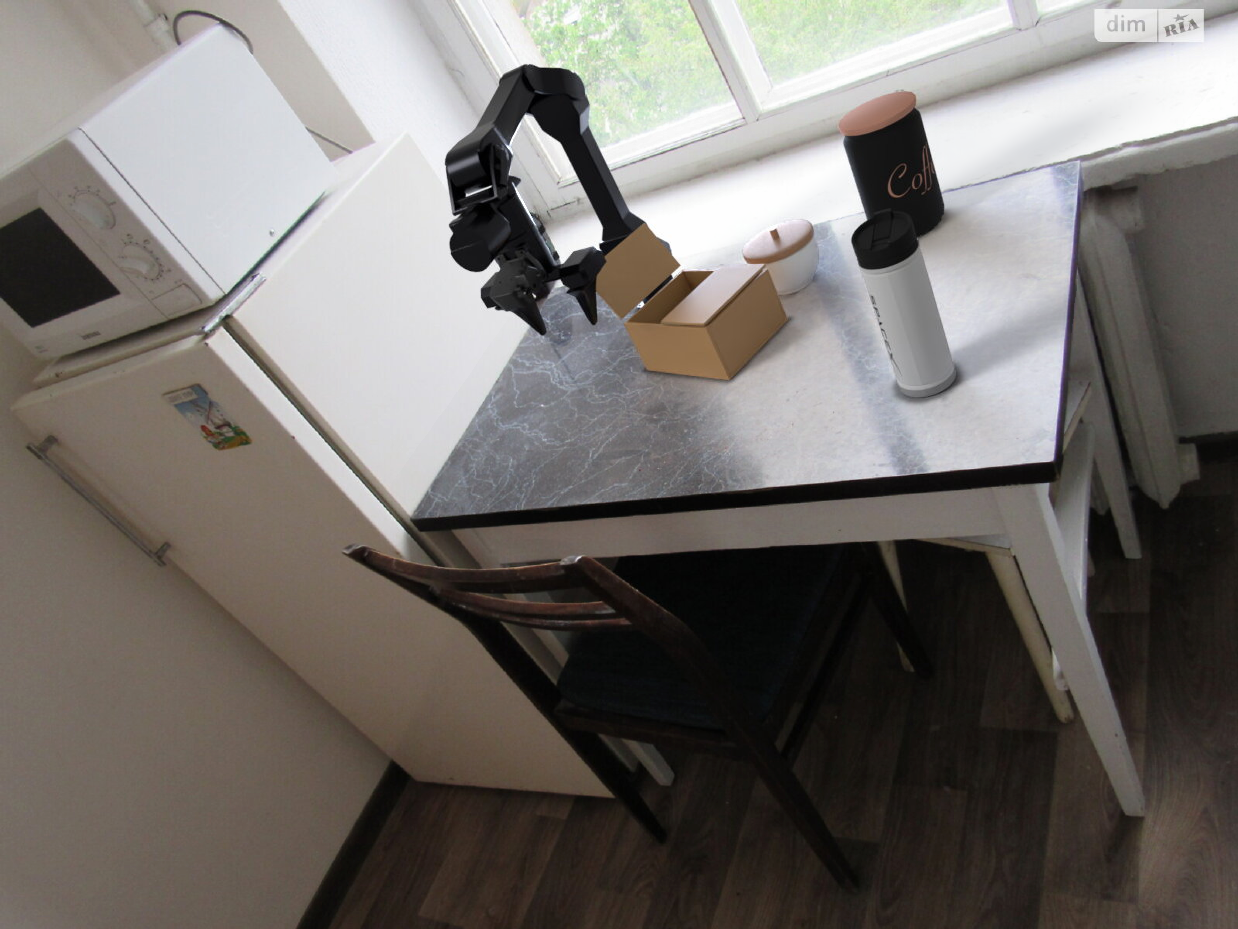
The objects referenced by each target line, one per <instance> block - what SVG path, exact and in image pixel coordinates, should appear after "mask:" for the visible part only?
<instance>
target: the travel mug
mask: <svg viewBox="0 0 1238 929" xmlns="http://www.w3.org/2000/svg"><path fill="white" fill-rule="evenodd" d="M873 216H874V217H872V218H870V219H868V220H867V219H866V220H865V221H864V222H862V223H861V224H859V226H857V228H856V229H854V231H853V233H852V235H851V239H850V242H851V246H852V249H853V252H854V255H855V257H856V261H857V265H858V268H859V270H860V274H861V278H862V280H863V284H864V287H865V290H866V293H867V296H868V298H869V301H870V304H871V308H872V310H873V315H874V316H875V320H876V323H877V326H878V328H879V332H880V334H881V335H880V336H881V337H882V341H883V344H884V347H885V350H886V353H887V355H888V359H889V362H890V364H891V368H892V370H893V373H894V377H895V379H896V383H897V386H898V390H900V392H901V393H902V394H903V395H905V396H907V397H911V398H926V397H931V396H934V395H937V394H939V393H941V392H943V391H944V390H946V389H948V387H950V386H951V385H952V384H953V383H954V381H955V379H956V376H957V370H956V367H955V363H954V360H953V356H952V353H951V349H950V346H949V342H948V338H947V336H946V331H945V328H944V324H943V322H942V318H941V315H940V310H939V307H938V304H937V301H936V297H935V294H934V290H933V287H932V286H933V285H932V283H931V279H930V276H929V272H928V269H927V265H926V262H925V259H924V255H923V252H922V249H921V244H920V242H919V239H918V237H916V232H915V229H914V225H913V222H912V219H911V217H910V216H909V215H908V214H907V213H904V212H900V211H893V212H892V211H891V208H889V209H886V210H882V211H879V212H875V213H874V215H873Z"/></svg>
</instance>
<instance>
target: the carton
mask: <svg viewBox="0 0 1238 929" xmlns="http://www.w3.org/2000/svg"><path fill="white" fill-rule="evenodd" d="M765 267H766V265H765V264H747V263H736V264H734V263H733V264H732V263H730V264H729V263H727V264H720V265H719V266H717V268H713V269H711V268H709V269H708V268H704V269H700V268H699V269H682V270H681V271H679V272H678V273H677V274H676V275H675V276H673V279H672V280H671V281H670V282H668V283H667V284H666V285H665V286H664V287H663V288H662V289H661V290H660V291H659V292H658V293H656V294H655V295H654V296H653V297H652V298H651V299H650V300H649V301H648V302H647V303H645V304H644V305H643V306H642V307H641V308H640V309H638V310H637V311H635V312H634V313H633V314H632V315H631V316H630V317H629V318H628V319H627V320H626V321H625V322H623V326H624V328H625V330H626V333H627V334H628V335H629V337H630V340H631V341H632V343H633V345H634V347H635V349H636V351H637V353H638V355H639V357H640V359H641V361H642V363H643V365H644V367H645V369H646V370H647V371H651V372H658V373H667V374H676V375H682V376H690V377H691V376H693V377H698V378H708V379H716V380H724V381H731V380H732V379H733V377H735V376H736V374H737V373H738V372H740V370H741V369H742V368H743V367H744V366H745V365H746V364H747V363H748V362H749V361H750V360H751V359H752V358H753V357H754V356H755V355H756V354H757V353H758V352H759V351H760V350H761V349H762V348H763V346H765V344H766V343H768V342H769V340H770V339H771V338H772V337H773V336H774V335H775V334H776V333H777V332H778V331H779V330H781V328H782V327H783V326H784V325H785V324H786V323H787V322H788V321H789V319H788V315H787V313H786V310H785V308H784V305H783V304H782V303H783V302H782V301H781V298H780V295H779V294H778V293H777V291H776V288H775V285H774V283H773V280H772V278H771V275H770V273H769V270H768V269H764V268H765ZM710 320H712V321H711V322H710V323H709V324H708V325H707V326H706V327H702V326H705V325H706V324H707V323H708V322H709V321H710ZM660 323H662V324H660ZM668 324H679V325H668ZM685 325H696V326H685Z"/></svg>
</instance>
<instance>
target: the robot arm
mask: <svg viewBox="0 0 1238 929" xmlns="http://www.w3.org/2000/svg"><path fill="white" fill-rule="evenodd" d="M586 91H587V90H586V87H585V83H584V81H583V79H582V78H581V76H580V75H579V74H578V73H577V72H575V71H574V72H573V71H572V70H570V69H568V68H563V67H547V66H546V67H545V66H544V67H543V66H542V67H541V66H537V65H536V64H535V65H534V64H532V63H528V64H527V63H524V64H522V65H519V66H517V67H515V68H513V69H511V70H509V71H506V72H505V73H503V74H502V76H501V77H500V78H499V80H498V86H497V88H496V90H495V91H494V94H493V96H492V97H491V99H490V101H489V103H488V104H487V106H486V108H485V110H484V112H483V114H482V115H481V117H480V119H479V121H478V122H477V124H476V126H475V128H474V129H473V130H472V131H471V132H469V134H466V135H465V136H464V137H462V138H461V139H460V140H459V141H457V142H456V143H455V145H453V146H452V147H451V148H450V150H448V152H446V155H445V158H444V166H445V174H446V181H447V189H448V194H449V202H450V208H451V214H452V216H454V217H456V218H454V219H452V220H451V221H450V222H449V223H448V227H449V229H450V231H451V233H452V234H451V236H450V238H449V242H448V245H449V250H450V255H451V258H452V260H454V261H455V263H456V264H457V265H458V266H459V267H461V268H462V269H463V270H466V271H469V272H470V273H471V272H472V273H481V272H485V270H487V269H488V268H489V267H490V266H491V264H492V263H494V261H495V259H496V260H497V262H498V265H499V267H500V268H499V271H495V272H494V273H493V274H492V276H491V277H490V278H489V279H487V281H486V282H485V283H484V284H483V285H482V286H481V288H480V300H481V301H482V303H483V304H484V306H485V307H486V309H492V308H494V310H495V311H497V312H499V311H504V312H506V313H507V312H511V313H512V314H513V315H515V316H517V317H518V318H520V319H521V320H522V321H524V322H525V323H526V324H527V325H528V326H529V327H530V328H532V329H533V330H534V331H535V332H536V333H537V334H539V335H540V336H542V337H543V336H545V335H546V334H547V332H548V331H547V327H546V324H545V320H544V319H543V316H542V313H541V311H540V308H539V307H538V304H537V302H536V299H535V296H534V293H538V292H540V288H541V285H544V284H548V283H551V282H552V283H553V282H556V281H560V283H561V284H562V285H563V286H564V287H566V288H568V289H567V291H566V292H565V293H566V294H567V295H569V296H572V297H573V298H575V299H576V301H577V303H578V305H579V306H580V308H581V310H582V312H583V313H584V314H583V315H584V316H585V317H586V319H587V320H588V322H589V323H590V324H591V326H596V325H597V323H598V322H599V320H598V319H599V318H598V304H597V302H598V301H597V300H598V299H597V292H596V282H597V275H598V274H599V272H600V271H601V269H602V267H603V266H604V265H605V263H606V262H607V261H606V259H605V256H606V255H607V254H608V253H610V252H611V251H612V250H613V249H614V248H615V247H617V246H618V245H619V244H620V243H621V242H622V241H624V240H625V239H626V238H627V237H628V236H629V235H631V234H632V233H633V232H634V231H635V230H636V229H638V228H639V227H640V226H641V225H642V224H643V223H645V224H646V225H647V226H648V227H649V225H648V223H647V222H646V220H644V219H642V218H640V216H638V215H636V214H635V213H634V212H632V211H631V210H630V209H629V207H628V205H627V203H626V201H625V198H624V197H623V194H622V192H621V191H620V188H619V186H618V184H617V182H616V179H615V178H614V175H613V174H612V171H611V170H610V167H609V165H608V163H607V161H606V159H605V157H604V155H603V153H602V151H601V149H600V147H599V144H598V142H597V141H596V138H595V136H594V134H593V132H592V130H591V127H590V112H591V103H590V101H589V100H590V99H589V97H588V94H587V93H586ZM526 115H527V116H529V117H533V119H534V120H535V122H536V123H537V125H538V126H539V128H540V130H541V131H542V132H543V133H545V134H546V135H548V136H549V137H551V138H552V139H554V140H555V141H557V142H558V143H559V144H560V146H561V147H562V149H563V151H564V153H565V155H566V157H567V160H568V161H569V163H570V166H571V167H572V169H573V171H574V173H575V175H576V177H577V179H578V182H579V183H580V185H581V187H582V189H583V191H584V193H585V195H586V197H587V199H588V201H589V203H590V206H591V207H592V209H593V211H594V213H595V215H596V217H597V219H598V221H599V222H600V225H601V228H602V230H601V231H602V232H601V241H600V242H598V247H597V246H594V245H591V246H589V247H584V248H580V249H577V250H573V251H572V252H571V253H570V255H569V256H568V257H567V259H566V260H565V261H564V262H563V263H560V264H558V263H557V261H558V260H560V258H561V257H560V255H559V253H558V251H557V250H555V251H550V249H549V247H548V245H547V243H546V241H545V240H544V237H543V234H544V233H546V231H547V230H546V228H545V227H544V225H543V224H539V225H538V224H537V225H536V223H535V222H534V219H533V218H532V216H531V214H530V212H529V210H528V209H527V206H526V205H525V203H524V201H523V198H521V195H520V194H519V192H518V190H517V188H518V186H519V185H520V184H521V183H522V179H521V177H519V176H516V175H511V174H510V172H511V171H510V170H511V168H512V164H513V159H514V154H513V151H512V148H511V146H512V142H513V139H514V138H515V136H516V134H517V131H518V130H519V128H520V126H521V123H522V122H523V120H524V118H525V116H526ZM656 237H657V238H658V239H659V240H660V241H661V243H662V244H663V245H664V246H665V247H666V248H667V250H668V251H669V252H670V253H671V254H672V255H673V253H672V249H671V245H670V243H669V242H668V241H666V240H664V239H662V238H660V237H659V236H656ZM672 274H673V273H672ZM672 274H671V275H670V276H669V277H668V278H667V279H665V280H664V281H663V282H662V283H661V284H660V285H659V286H658V287H657V288H656V289H654V290H653V291H652V292H651V293H650V294H649V295H648V296H647V297H646V298H645V299H643V300H642V301H641V302H640V303H639V304H638V305H637V306H636V308H637V309H638V310H639V309H640V308H641V307H642V306H643V305H644V304H645V303H647V302H648V301H649V300H650V299H651V298H652V297H653V296H654V295H655V294H656V293H658V292H659V291H660V290H661V289H662V288H663V287H664V286H665V285H666V284H667V283H668V282H670V281H671V280H672V279H673V278H674V276H673V275H672Z"/></svg>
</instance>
